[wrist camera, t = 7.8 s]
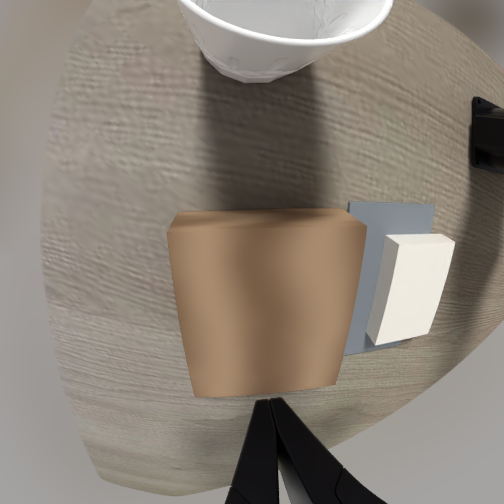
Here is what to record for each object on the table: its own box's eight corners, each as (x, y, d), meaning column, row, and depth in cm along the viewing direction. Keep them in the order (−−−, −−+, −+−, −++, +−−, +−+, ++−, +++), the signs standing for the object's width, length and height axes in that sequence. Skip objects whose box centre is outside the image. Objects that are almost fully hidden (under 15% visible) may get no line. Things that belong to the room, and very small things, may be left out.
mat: (432, 204, 20) (435, 205, 19) (398, 342, 25) (400, 344, 25) (348, 201, 19) (350, 202, 19) (326, 355, 24) (327, 358, 24)
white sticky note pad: (399, 244, 18) (385, 234, 20) (374, 345, 22) (365, 331, 23) (455, 242, 19) (440, 233, 20) (427, 333, 22) (417, 321, 24)
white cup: (205, -16, 12) (196, -110, 3) (321, 6, 13) (393, -65, 4) (179, 84, 15) (132, 30, 6) (304, 104, 16) (388, 79, 7)
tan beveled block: (341, 208, 19) (367, 226, 15) (321, 352, 24) (335, 384, 21) (177, 212, 18) (166, 232, 14) (196, 362, 23) (194, 397, 20)
